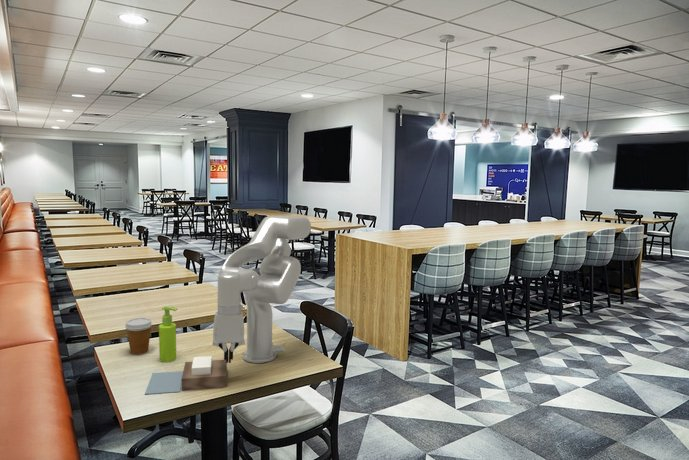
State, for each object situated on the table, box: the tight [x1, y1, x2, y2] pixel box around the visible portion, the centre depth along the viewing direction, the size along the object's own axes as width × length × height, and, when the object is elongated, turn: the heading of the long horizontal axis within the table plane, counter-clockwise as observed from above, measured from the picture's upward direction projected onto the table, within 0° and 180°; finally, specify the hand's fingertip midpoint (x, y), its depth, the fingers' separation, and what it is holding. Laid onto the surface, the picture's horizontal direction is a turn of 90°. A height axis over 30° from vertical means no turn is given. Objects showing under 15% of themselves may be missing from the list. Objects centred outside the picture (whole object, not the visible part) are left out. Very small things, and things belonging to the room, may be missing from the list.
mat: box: [144, 370, 183, 396], centre depth 158 cm, size 10×15×1 cm
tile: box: [192, 355, 213, 375], centre depth 160 cm, size 6×9×2 cm, turn 13°
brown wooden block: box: [181, 359, 228, 391], centre depth 161 cm, size 14×13×4 cm
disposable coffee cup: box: [124, 317, 153, 356], centre depth 182 cm, size 10×10×12 cm
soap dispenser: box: [158, 306, 179, 363], centre depth 175 cm, size 6×7×20 cm
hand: (228, 361), depth 162 cm, fingers closed
